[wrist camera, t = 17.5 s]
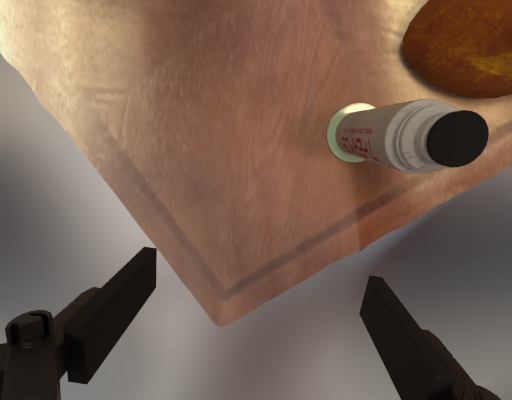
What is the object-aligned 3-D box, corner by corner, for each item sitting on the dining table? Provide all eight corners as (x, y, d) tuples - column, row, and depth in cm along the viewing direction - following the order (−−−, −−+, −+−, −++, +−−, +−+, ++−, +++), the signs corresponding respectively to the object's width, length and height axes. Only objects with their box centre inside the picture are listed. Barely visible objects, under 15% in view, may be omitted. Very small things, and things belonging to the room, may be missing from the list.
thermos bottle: (337, 158, 51) (413, 191, 24) (333, 115, 49) (411, 100, 22) (379, 151, 50) (505, 177, 23) (376, 107, 48) (512, 82, 21)
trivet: (332, 99, 49) (333, 99, 48) (390, 106, 49) (392, 106, 48) (321, 158, 52) (322, 158, 51) (376, 165, 52) (378, 165, 51)
